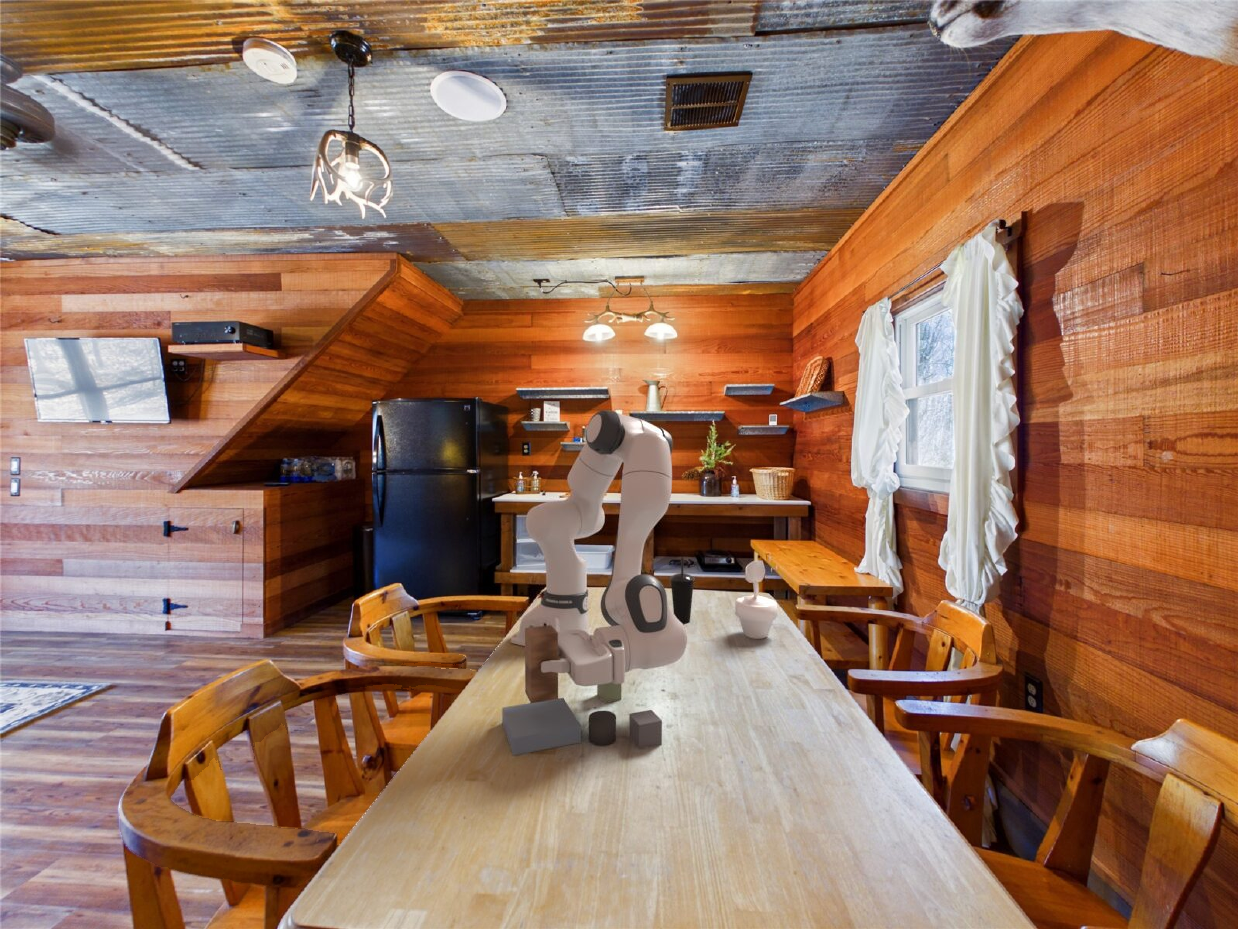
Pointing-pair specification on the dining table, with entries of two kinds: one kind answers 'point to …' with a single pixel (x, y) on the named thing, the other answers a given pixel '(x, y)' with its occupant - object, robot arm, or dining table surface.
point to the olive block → (609, 692)
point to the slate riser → (540, 726)
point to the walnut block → (537, 648)
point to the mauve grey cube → (645, 729)
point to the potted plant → (756, 605)
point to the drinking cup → (682, 595)
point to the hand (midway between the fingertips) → (536, 660)
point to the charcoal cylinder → (602, 728)
